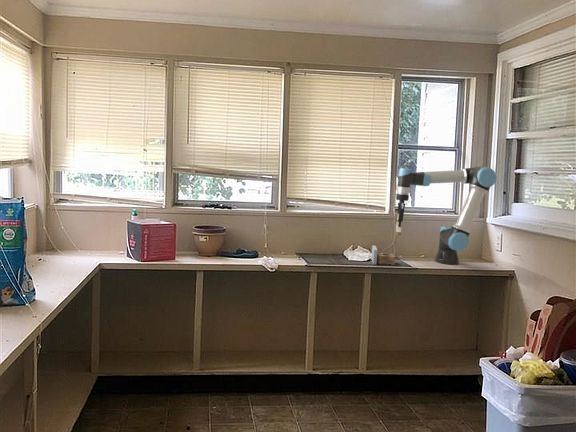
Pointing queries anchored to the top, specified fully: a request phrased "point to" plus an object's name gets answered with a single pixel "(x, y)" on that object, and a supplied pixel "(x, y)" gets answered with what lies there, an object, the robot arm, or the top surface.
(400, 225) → the robot arm
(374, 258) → the backstop
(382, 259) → the block
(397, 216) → the dowel
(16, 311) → the top surface
